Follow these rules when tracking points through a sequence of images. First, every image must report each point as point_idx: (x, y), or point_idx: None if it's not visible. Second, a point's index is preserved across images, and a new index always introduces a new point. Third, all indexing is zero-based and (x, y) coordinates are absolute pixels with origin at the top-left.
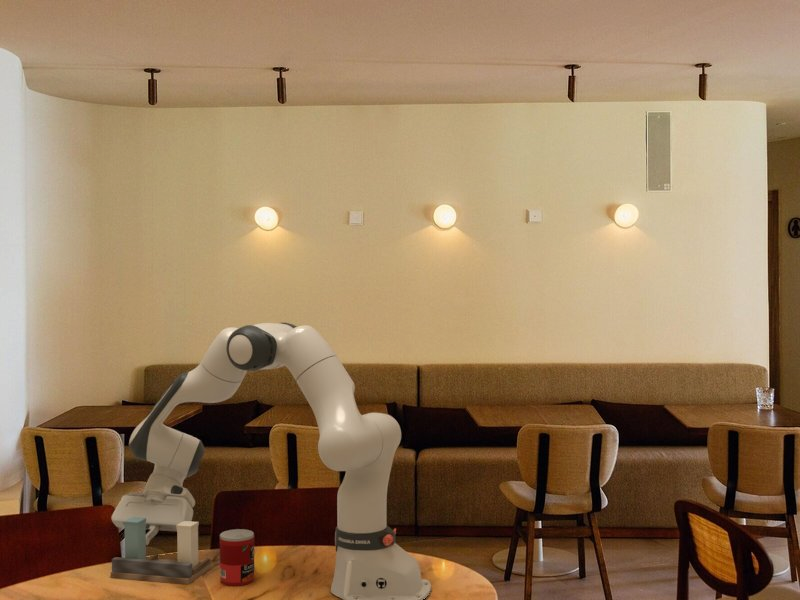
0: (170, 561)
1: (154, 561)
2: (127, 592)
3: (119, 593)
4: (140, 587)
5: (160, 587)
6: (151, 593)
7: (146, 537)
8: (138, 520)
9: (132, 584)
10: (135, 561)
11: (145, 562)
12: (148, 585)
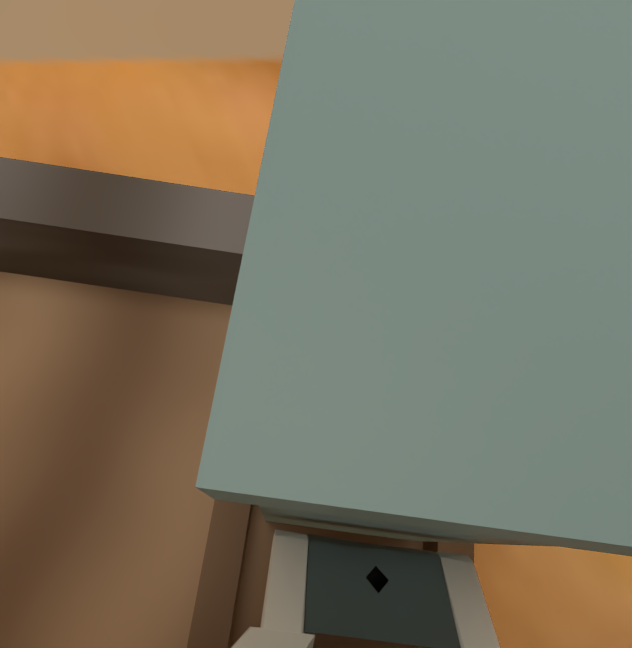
0: (15, 634)
1: (48, 193)
2: (213, 71)
3: (255, 59)
4: (160, 140)
5: (19, 144)
6: (56, 61)
7: (272, 588)
8: (398, 95)
9: (235, 184)
10: (248, 195)
11: (140, 181)
12: (115, 172)
